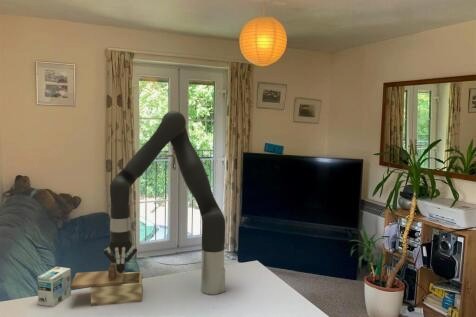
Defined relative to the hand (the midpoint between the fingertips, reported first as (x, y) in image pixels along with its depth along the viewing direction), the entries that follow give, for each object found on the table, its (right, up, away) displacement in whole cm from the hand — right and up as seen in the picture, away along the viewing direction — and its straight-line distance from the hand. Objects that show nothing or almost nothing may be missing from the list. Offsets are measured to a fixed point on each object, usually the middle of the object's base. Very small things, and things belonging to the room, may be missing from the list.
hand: (120, 272), depth 144 cm
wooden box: (-1, -10, +1) cm, 10 cm away
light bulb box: (-24, -10, -3) cm, 26 cm away
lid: (-8, -2, -2) cm, 8 cm away
